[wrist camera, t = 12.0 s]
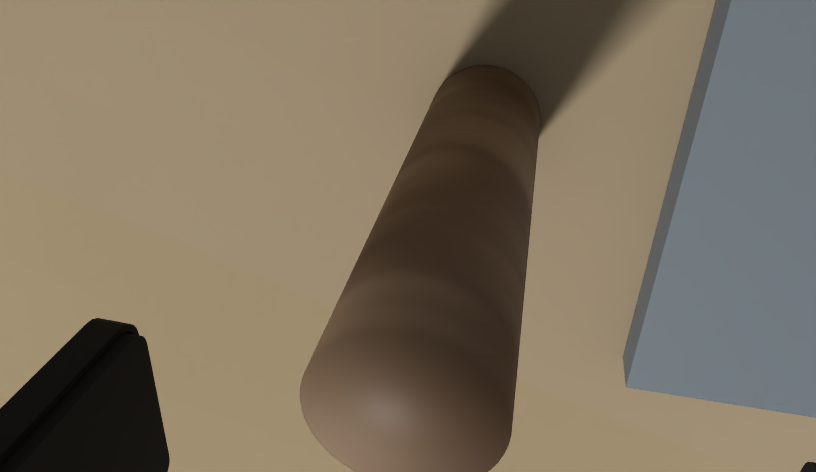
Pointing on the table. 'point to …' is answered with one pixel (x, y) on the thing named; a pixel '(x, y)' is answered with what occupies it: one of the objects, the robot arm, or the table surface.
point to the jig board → (738, 223)
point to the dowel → (436, 294)
